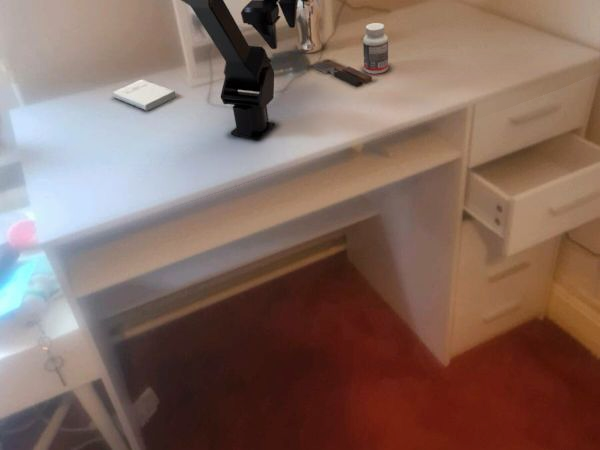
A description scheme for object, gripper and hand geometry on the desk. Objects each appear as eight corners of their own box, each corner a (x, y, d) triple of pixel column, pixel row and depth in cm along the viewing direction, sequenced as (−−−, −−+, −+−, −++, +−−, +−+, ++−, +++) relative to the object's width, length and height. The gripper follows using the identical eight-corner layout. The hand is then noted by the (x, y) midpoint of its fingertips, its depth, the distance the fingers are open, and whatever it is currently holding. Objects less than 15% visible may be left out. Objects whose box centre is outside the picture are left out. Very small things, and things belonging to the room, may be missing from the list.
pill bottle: (363, 65, 137) (362, 22, 131) (387, 63, 136) (387, 20, 130) (364, 75, 132) (363, 31, 126) (389, 73, 132) (388, 29, 126)
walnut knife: (372, 80, 130) (372, 76, 129) (365, 83, 129) (364, 79, 128) (327, 60, 141) (327, 56, 140) (320, 62, 140) (320, 58, 140)
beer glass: (321, 53, 144) (316, -11, 135) (293, 54, 146) (286, -10, 137) (326, 42, 150) (321, -20, 141) (298, 43, 151) (292, -19, 142)
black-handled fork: (364, 83, 129) (364, 80, 128) (354, 87, 128) (354, 83, 127) (320, 63, 140) (320, 59, 139) (311, 66, 139) (310, 63, 138)
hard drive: (146, 112, 128) (114, 98, 136) (176, 97, 133) (143, 84, 140) (144, 105, 127) (112, 91, 135) (175, 90, 132) (142, 78, 139)
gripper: (288, -23, 101) (302, 62, 112) (327, -62, 113) (336, 18, 124) (231, -22, 105) (250, 59, 116) (274, -60, 118) (287, 17, 128)
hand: (283, 37), depth 121 cm, fingers open, 9 cm apart
